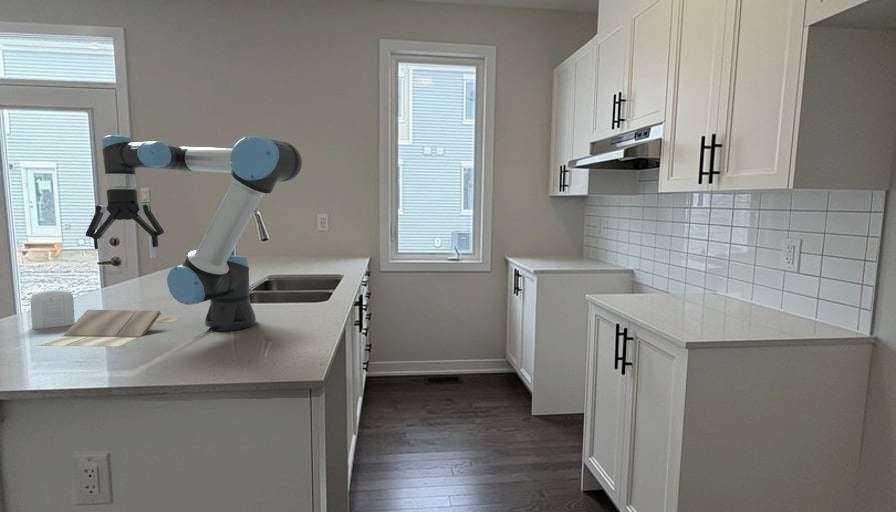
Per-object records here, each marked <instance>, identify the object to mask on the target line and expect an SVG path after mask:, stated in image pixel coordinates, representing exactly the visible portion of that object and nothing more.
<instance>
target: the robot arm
mask: <svg viewBox="0 0 896 512" xmlns="http://www.w3.org/2000/svg"><path fill="white" fill-rule="evenodd" d="M101 152H102V155H103V156H102V158H103V164H104V165H103V167H104V175H105V177H104V178H105V187H106V188H107V190H106V198H107V205H100V204H99V205H98V204H97V205H96V206H95V212H94V215H93V217H92V219H91V221H90V224H89V225H88V227H87V230H86V231H85V236H86V237H89V238H92V239H93V247H94V249H95V250H98V251H97V252H98V261H105V260H107V255H106V253H107V252H106V244H105V243H106V242H105V238H104V237H102V236H103V235H104V234H105V233H106V232H107V231H108V229H109V228H110V227H111V226H112V224H113V223H115V221H123V220H125V221H129V220H131V221H132V220H133V221H135V222H136V223H137V224H138V225H139V226H140V227H141V228H142V229H143V230H144V231H146V232H147V234H148V235H150V236H148V237H147V238H148V246H149V258H150V259H155V258H156V257H157V254H156V248H158V247H159V236H161V235H164V234H165V230H164V229H163V227H162V226H161V224H160V223H159V221H158V219H157V218H156V217H155V215H154V213H153V212H152V209H151V205H150V204H143V205H139V203H138V202H139V201H138V191H137V190H136V189H135V188H137V181H136V169H156V170H168V171H170V170H171V171H179V172H204V173H205V172H206V173H207V172H208V173H210V172H212V173H226V174H227V173H228V174H230V177H231V179H232V182H231V183H230V186H229V187H228V190H227V191H226V193H225V195H224V198H223V199H222V201H221V203H220V205H219V207H218V209H217V210H216V213H215V214H214V215H213V218H212V220H211V222H210V224H209V226H208V228H207V229H206V232H205V234H204V236H203V237H202V240H201V241H200V244H199V245H198V247H197V249H194V250H191V251H189V252H188V254H187V255H186V257H185V259H184V261H183V263H182V264H178V265H175V266H174V267H172V268H171V269H170V270H169V271H168V274H167V277H166V278H167V279H166V284H167V285H166V286H167V288H168V289H169V290H168V291H169V293H170V296H172V297H173V299H175V301H177V302H179V304H182V305H187V306H190V305H191V306H192V305H199V304H201V303H204V302H208V301H209V302H210V303H209V307H208V310H207V313H206V317H205V320H204V324H205V326H206V327H209V328H208V330H209V331H215V332H226V331H227V332H230V331H238V330H243V328H244V329H248V328H251V327H253V326H255V325H256V324H257V317H256V314H255V311H254V309H253V306H252V303H251V300H250V299H251V298H250V265H249V259H248V258H247V257H246V256H243V255H232V253H233V251H234V250H235V248H236V246H237V244H238V242H239V240H240V238H241V237H242V235H243V233H244V231H245V229H246V227H247V226H248V224H249V222H250V220H251V219H252V216H253V214H254V213H255V211H256V208H258V205H259V204H260V202H261V200H262V199H263V197H264V196H268V195H270V194H271V193H272V191H273V190H274V188H275V186H276V184H277V183H278V182H279V183H280V182H281V183H283V182H289V181H291V180H294V179H295V178H296V177H298V175H299V174H300V172H302V171H301V170H302V168H303V160H302V155H301V153H300V152H299V150H298V149H297V147H295V146H294V145H292V144H291V143H289V142H286V141H281V140H276V139H273V138H272V139H271V138H268V137H266V136H260V135H257V136H256V135H253V136H251V135H250V136H245V137H243V138H241V139H239V140H238V141H237V142H236V143H235V144H234V145H233V147H232V148H231V147H230V148H228V147H225V148H224V147H202V146H201V147H200V146H199V147H198V146H195V147H194V146H178V145H170V144H166V143H164V142H162V141H158V140H157V141H154V140H147V141H139V142H138V141H137V142H133V139H132V138H131V137H130V136H127V135H126V136H125V135H105V136H103V138H102V149H101ZM106 211H107V212H108V213H109V215H108V217H107V218H106V220H105V221H104V222H103V223H101V226H100V227H99V225H100V222H101V220H102V219H103V216H104V214H105V213H106ZM139 211H141V212H143V213H144V215H145V216H146V218H147V219H148V221H149V222H150V224H151V225H152V227H151V225H150V224H149V223H147V222H146V221H145V220H144V219H143V217H142V216H141V215H140V214H138V213H139ZM255 323H256V324H255ZM254 324H255V325H254ZM252 325H253V326H252ZM250 326H251V327H250ZM247 327H248V328H247Z"/></svg>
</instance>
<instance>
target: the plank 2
mask: <svg viewBox="0 0 896 512" xmlns="http://www.w3.org/2000/svg"><path fill="white" fill-rule="evenodd" d="M180 319H181V318H180V317H179V318H178V317H174V318H172V317H171V318H170V317H169V318H167V317H165V318H163V317H161V318H160V317H158V318H157V319H156V321H155V322H154V323H153V324H157V323H159V324H164V323H165V324H167V323H168V324H171V323H174V322H176V321H178V320H180Z"/></svg>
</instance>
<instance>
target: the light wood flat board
mask: <svg viewBox="0 0 896 512" xmlns="http://www.w3.org/2000/svg"><path fill="white" fill-rule="evenodd" d="M139 338H140V337H133V336H73V335H64V334H63V335H60V336H57V337H54V338H52V339H49V340H47V341H43V342H40V343H38V344H37V346H45V347H46V346H52V347H53V346H54V347H59V346H60V347H107V348H108V347H110V348H111V347H112V348H113V347H114V348H115V347H121V346H122V345H123V346H124V345H125V344H127V343H130V342H131V341H133V340H135V339H139Z"/></svg>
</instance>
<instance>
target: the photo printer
mask: <svg viewBox="0 0 896 512" xmlns="http://www.w3.org/2000/svg"><path fill="white" fill-rule="evenodd" d="M29 301H30V315H31V328H32V330H36V329H50V328H58V327H67V326H73V325H74V324H75V322H76V321H75V305H74V303H75V302H74V297H73V294H72V291H71V290H65V289H45V290H42V291H37V292H34V293H31V297H30V300H29Z"/></svg>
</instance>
